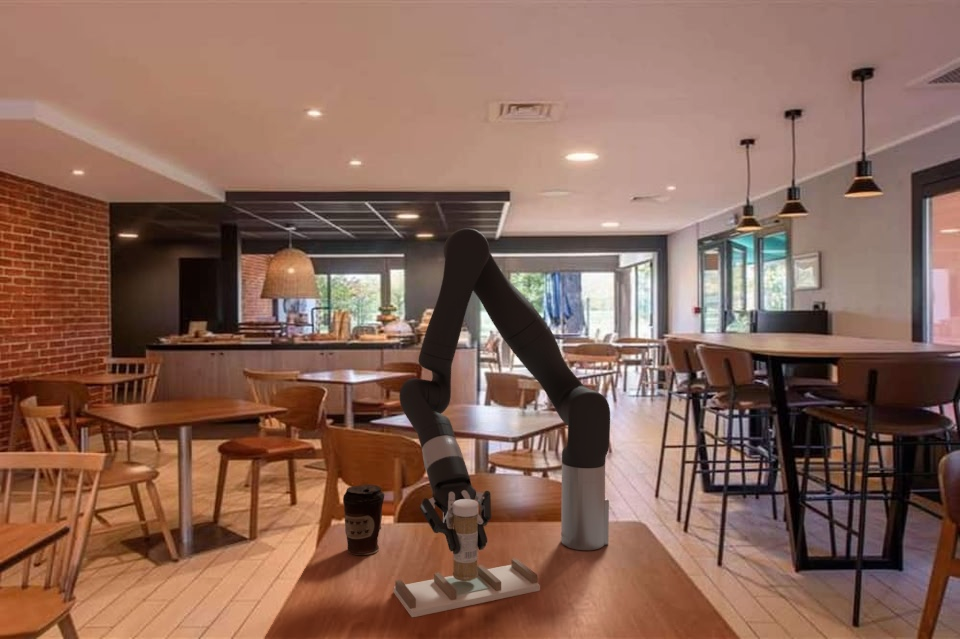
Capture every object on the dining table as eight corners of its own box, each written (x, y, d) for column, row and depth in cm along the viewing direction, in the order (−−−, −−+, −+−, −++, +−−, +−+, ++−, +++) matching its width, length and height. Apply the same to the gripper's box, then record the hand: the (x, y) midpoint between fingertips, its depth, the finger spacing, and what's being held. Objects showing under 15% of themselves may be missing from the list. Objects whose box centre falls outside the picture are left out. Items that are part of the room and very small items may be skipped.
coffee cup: (374, 560, 126) (374, 495, 126) (335, 557, 128) (335, 493, 128) (389, 544, 135) (389, 483, 134) (352, 541, 136) (352, 481, 136)
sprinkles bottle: (474, 570, 116) (475, 497, 116) (480, 581, 112) (481, 505, 111) (450, 572, 115) (450, 498, 115) (454, 583, 111) (455, 506, 110)
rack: (513, 569, 122) (513, 556, 122) (539, 590, 113) (539, 576, 113) (393, 592, 112) (393, 578, 112) (412, 617, 103) (412, 602, 103)
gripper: (414, 458, 117) (437, 546, 106) (484, 451, 123) (513, 534, 112) (405, 479, 122) (426, 566, 111) (473, 471, 128) (499, 553, 117)
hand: (470, 549), depth 111 cm, fingers closed on sprinkles bottle, 4 cm apart
